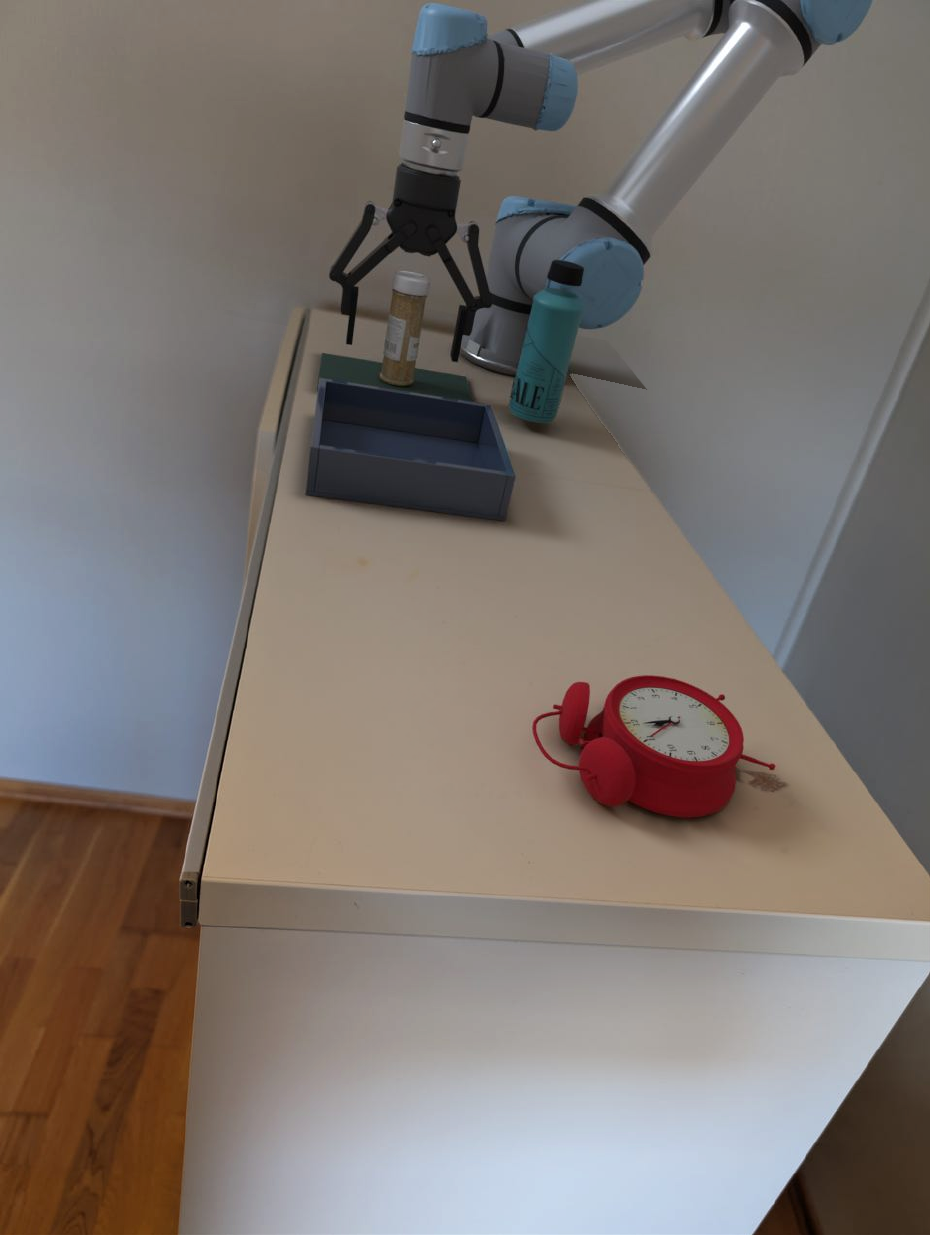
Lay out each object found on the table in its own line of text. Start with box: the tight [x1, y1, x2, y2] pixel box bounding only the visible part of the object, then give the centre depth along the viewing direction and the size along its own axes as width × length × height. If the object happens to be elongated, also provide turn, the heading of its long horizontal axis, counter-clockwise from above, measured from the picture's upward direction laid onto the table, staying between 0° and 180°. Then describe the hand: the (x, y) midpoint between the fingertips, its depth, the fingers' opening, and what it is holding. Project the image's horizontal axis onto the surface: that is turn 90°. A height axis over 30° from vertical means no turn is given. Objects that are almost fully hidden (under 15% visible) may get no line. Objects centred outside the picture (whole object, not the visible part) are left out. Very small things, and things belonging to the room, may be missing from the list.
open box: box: [305, 377, 517, 522], centre depth 90 cm, size 20×20×5 cm
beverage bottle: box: [507, 260, 584, 424], centre depth 105 cm, size 6×7×20 cm
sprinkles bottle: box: [380, 270, 431, 386], centre depth 109 cm, size 5×5×13 cm
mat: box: [316, 352, 474, 402], centre depth 113 cm, size 20×14×1 cm
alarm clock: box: [531, 674, 776, 818], centre depth 57 cm, size 10×6×15 cm
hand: (402, 350), depth 111 cm, fingers open, 13 cm apart
